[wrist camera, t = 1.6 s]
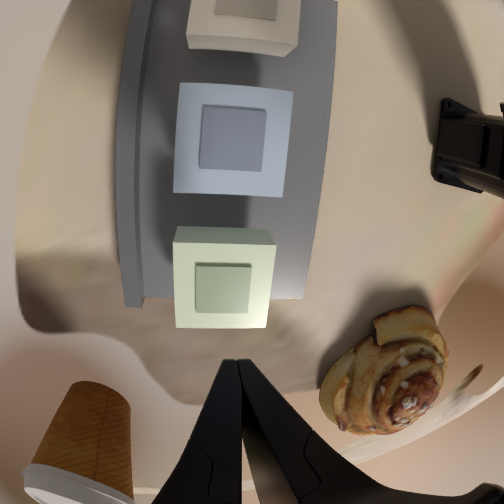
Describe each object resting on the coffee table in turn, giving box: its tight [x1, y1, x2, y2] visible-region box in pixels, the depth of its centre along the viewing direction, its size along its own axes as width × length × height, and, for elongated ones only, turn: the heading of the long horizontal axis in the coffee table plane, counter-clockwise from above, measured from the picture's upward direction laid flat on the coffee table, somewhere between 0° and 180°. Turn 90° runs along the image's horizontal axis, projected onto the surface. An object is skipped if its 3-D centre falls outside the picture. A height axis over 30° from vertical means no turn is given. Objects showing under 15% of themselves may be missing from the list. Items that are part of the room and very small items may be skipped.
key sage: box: [173, 226, 277, 328], centre depth 14 cm, size 4×4×2 cm
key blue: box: [173, 83, 293, 198], centre depth 12 cm, size 4×4×2 cm
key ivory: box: [186, 0, 301, 57], centre depth 9 cm, size 4×4×2 cm
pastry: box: [319, 305, 449, 435], centre depth 22 cm, size 13×15×8 cm
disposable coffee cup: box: [22, 381, 136, 504], centre depth 17 cm, size 10×10×12 cm
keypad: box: [115, 0, 338, 308], centre depth 14 cm, size 11×19×2 cm, turn 175°
